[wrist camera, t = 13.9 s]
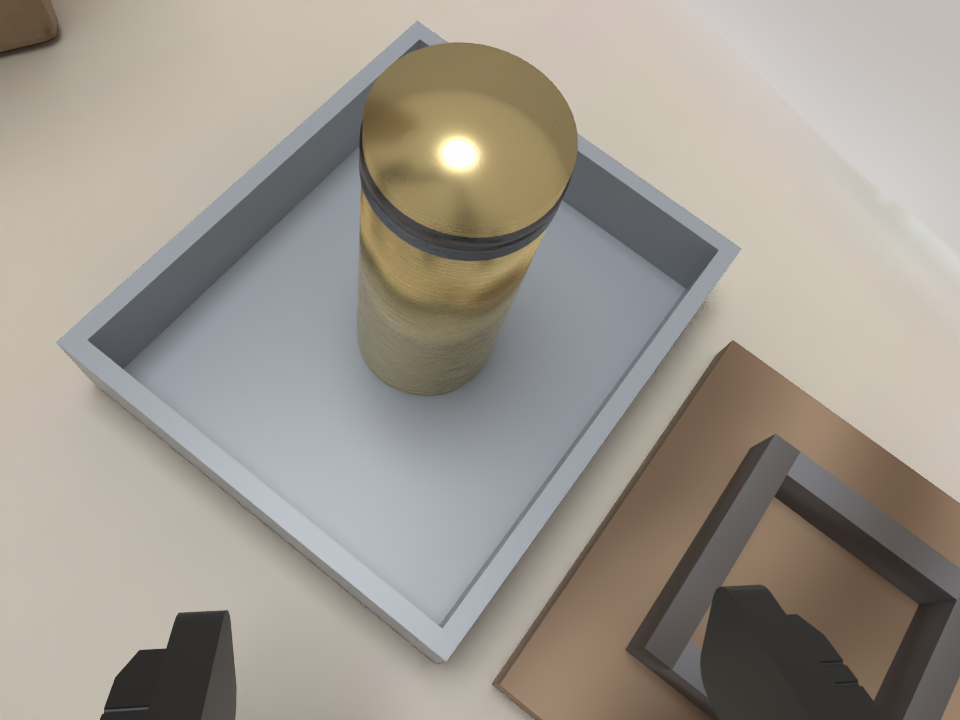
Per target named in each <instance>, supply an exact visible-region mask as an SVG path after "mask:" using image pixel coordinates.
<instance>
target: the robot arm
mask: <svg viewBox="0 0 960 720" xmlns="http://www.w3.org/2000/svg"><path fill="white" fill-rule="evenodd" d="M700 670H701V677H702V682H703V686H704V689H705V692H706V694H707V696H708V698H709V700H710V702H711V704H712V706H713V708H714V710H715V712H716V714H717V716H718V718H719V720H887V718H886V717H885V716H884V714H883V713H882V712H881V710H880V709H879V707H878V706H877V705H876V703H875V702H874V701H873V699H872V698H871V697H870V695H869V694H868V693H867V691H866V690H865V689H864V687H863V686H859V683H858V679H857V678H856V677H855V675H854V674H853V673H852V671H851V670H850V669H849V667H848V666H847V665H844V664H843V659H842V658H841V656H840V655H839V654H838V652H837V651H836V650H835V648H834V647H833V646H832V644H831V643H830V642H829V640H828V639H827V638H826V636H825V635H824V634H822V633H821V632H820V631H819V630H817V629H816V628H815V627H813V626H812V625H811V624H809V623H808V622H807V621H806V620H804V619H803V618H802V617H800V616H799V615H798V614H788V615H786V613H785V612H784V610H783V609H782V608H781V606H780V605H779V603H778V602H777V600H776V599H775V598H774V596H773V595H772V593H771V592H770V591H769V590H768V588H766V587H765V586H763V585H742V586H723V587H718V588H717V589H716V591H715V593H714V595H713V599H712V604H711V609H710V613H709V618H708V623H707V627H706V632H705V637H704V641H703V646H702V651H701V657H700ZM235 714H236V677H235V666H234V655H233V643H232V632H231V621H230V615H229V612H228V611H227V610H224V611H205V612H185V613H178V615H177V616H176V619H175V622H174V625H173V628H172V632H171V635H170V638H169V642H168V645H167V648H166V649H151V650H139V651H138V652H137V654H136V655H135V656H134V657H133V658H132V659H131V660H130V662H129V663H128V664H127V665H126V666H125V667H124V668H123V669H122V671H121V672H120V673H119V674H118V675H117V676H116V677H115V680H114V683H113V685H112V688H111V691H110V694H109V696H108V699H107V702H106V705H105V707H104V714H102V716H101V718H100V720H235Z"/></svg>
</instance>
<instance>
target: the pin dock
mask: <svg viewBox="0 0 960 720" xmlns="http://www.w3.org/2000/svg"><path fill="white" fill-rule="evenodd" d="M742 585H763V586H765V587H766V588H768V590H769V591H770V592H771V593H772V595H773V596H774V598H775V599H776V600H777V602H778V603H779V605H780V606H781V608H782V609H783V610H784V612H785V613H786V615H788V614H798V615H799V616H800V617H802V618H803V619H804V620H806V621H807V622H808V623H809V624H811V625H812V626H813V627H815V628H816V629H817V630H819V631H820V632H821V633H822V634H824V635H825V636H826V638H827V639H828V640H829V642H830V643H831V644H832V646H833V647H834V648H835V650H836V651H837V652H838V654H839V655H840V656H841V658H842V659H843V664H844V665H847V666H848V667H849V669H850V670H851V671H852V673H853V674H854V675H855V677H856V678H857V679H858V683H859V686H863V687H864V689H865V690H866V691H867V693H868V694H869V695H870V697H871V698H872V699H873V701H874V702H875V703H876V705H877V706H878V707H879V709H880V710H881V712H882V713H883V714H884V716H885V717H886V718H887V720H960V503H959V502H957V501H956V500H954V499H953V498H952V497H950V496H949V495H947V494H946V493H945V492H943V491H942V490H940V489H939V488H938V487H936V486H935V485H934V484H932V483H931V482H929V481H928V480H927V479H925V478H924V477H922V476H921V475H920V474H918V473H917V472H915V471H914V470H913V469H911V468H910V467H909V466H907V465H906V464H904V463H903V462H902V461H900V460H899V459H897V458H896V457H895V456H893V455H892V454H890V453H889V452H888V451H886V450H885V449H883V448H882V447H881V446H879V445H878V444H877V443H875V442H874V441H872V440H871V439H870V438H868V437H867V436H865V435H864V434H863V433H861V432H860V431H858V430H857V429H856V428H854V427H853V426H852V425H850V424H849V423H847V422H846V421H845V420H843V419H842V418H840V417H839V416H838V415H836V414H835V413H833V412H832V411H831V410H829V409H828V408H827V407H825V406H824V405H822V404H821V403H820V402H818V401H817V400H815V399H814V398H813V397H811V396H810V395H808V394H807V393H806V392H804V391H803V390H802V389H800V388H799V387H797V386H796V385H795V384H793V383H792V382H790V381H789V380H788V379H786V378H785V377H783V376H782V375H781V374H779V373H778V372H777V371H775V370H774V369H772V368H771V367H770V366H768V365H767V364H765V363H764V362H763V361H761V360H760V359H758V358H757V357H756V356H754V355H753V354H752V353H750V352H749V351H747V350H746V349H745V348H743V347H742V346H740V345H739V344H738V343H736V342H735V341H733V340H732V341H731V342H730V343H729V344H728V345H727V346H726V347H725V348H724V349H722V350H721V351H720V352H719V353H718V354H717V355H716V356H715V358H714V359H713V361H712V362H711V364H710V365H709V366H708V368H707V369H706V371H705V372H704V374H703V375H702V377H701V378H700V380H699V381H698V383H697V384H696V386H695V387H694V388H693V390H692V391H691V393H690V394H689V396H688V397H687V399H686V400H685V402H684V403H683V405H682V406H681V408H680V409H679V410H678V412H677V413H676V415H675V416H674V418H673V419H672V421H671V422H670V424H669V425H668V427H667V428H666V430H665V431H664V432H663V434H662V435H661V437H660V438H659V440H658V441H657V443H656V444H655V446H654V447H653V449H652V450H651V452H650V453H649V454H648V456H647V457H646V459H645V460H644V462H643V463H642V465H641V466H640V468H639V469H638V471H637V472H636V474H635V475H634V477H633V478H632V479H631V481H630V482H629V484H628V485H627V487H626V488H625V490H624V491H623V493H622V494H621V496H620V497H619V499H618V500H617V501H616V503H615V504H614V506H613V507H612V509H611V510H610V512H609V513H608V515H607V516H606V518H605V519H604V521H603V522H602V523H601V525H600V526H599V528H598V529H597V531H596V532H595V534H594V535H593V537H592V538H591V540H590V541H589V543H588V544H587V545H586V547H585V548H584V550H583V551H582V553H581V554H580V556H579V557H578V559H577V560H576V562H575V563H574V565H573V566H572V567H571V569H570V570H569V572H568V573H567V575H566V576H565V578H564V579H563V581H562V582H561V584H560V585H559V587H558V588H557V589H556V591H555V592H554V594H553V595H552V597H551V598H550V600H549V601H548V603H547V604H546V606H545V607H544V609H543V610H542V611H541V613H540V614H539V616H538V617H537V619H536V620H535V622H534V623H533V625H532V626H531V628H530V629H529V631H528V632H527V633H526V635H525V636H524V638H523V639H522V641H521V642H520V644H519V645H518V647H517V648H516V650H515V651H514V653H513V654H512V655H511V657H510V658H509V660H508V661H507V663H506V664H505V666H504V667H503V669H502V670H501V672H500V673H499V675H498V676H497V677H496V679H495V680H494V682H493V683H492V684H493V685H494V686H495V687H496V688H498V689H499V690H500V691H501V692H503V693H504V694H505V695H506V696H507V697H509V698H510V699H511V700H512V701H514V702H515V703H516V704H517V705H518V706H520V707H521V708H522V709H523V710H525V711H526V712H527V713H528V714H529V715H531V716H532V717H533V718H534V719H536V720H719V718H718V716H717V714H716V712H715V710H714V708H713V706H712V704H711V702H710V700H709V698H708V696H707V694H706V692H705V689H704V686H703V682H702V677H701V670H700V657H701V651H702V646H703V641H704V637H705V632H706V627H707V623H708V618H709V613H710V609H711V604H712V599H713V595H714V593H715V591H716V589H717V588H718V587H723V586H742Z"/></svg>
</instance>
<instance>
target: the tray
mask: <svg viewBox="0 0 960 720" xmlns="http://www.w3.org/2000/svg"><path fill="white" fill-rule="evenodd" d="M443 43H448V42H447V41H445V40H444V39H442V38H441V37H439V36H438V35H437V34H435V33H434V32H432V31H431V30H430V29H428V28H427V27H425V26H424V25H422V24H421V23H420V22H418V21H416V22H415V23H414V24H413V25H412V26H411V27H410V28H409V29H407V30H406V31H405V32H404V33H403V34H402V35H401V36H400V37H398V38H397V39H396V40H395V41H394V42H393V43H392V44H391V45H389V46H388V47H387V48H386V49H385V50H384V51H383V52H382V53H380V54H379V55H378V56H377V57H376V58H375V59H374V60H373V61H371V62H370V63H369V64H368V65H367V66H366V67H365V68H364V69H363V70H361V71H360V72H359V73H358V74H357V75H356V76H355V77H354V78H352V79H351V80H350V81H349V82H348V83H347V84H346V85H345V86H343V87H342V88H341V89H340V90H339V91H338V92H337V93H336V94H334V95H333V96H332V97H331V98H330V99H329V100H328V101H327V102H325V103H324V104H323V105H322V106H321V107H320V108H319V109H318V110H316V111H315V112H314V113H313V114H312V115H311V116H310V117H309V118H307V119H306V120H305V121H304V122H303V123H302V124H301V125H300V126H298V127H297V128H296V129H295V130H294V131H293V132H292V133H291V134H289V135H288V136H287V137H286V138H285V139H284V140H283V141H282V142H280V143H279V144H278V145H277V146H276V147H275V148H274V149H273V150H271V151H270V152H269V153H268V154H267V155H266V156H265V157H264V158H262V159H261V160H260V161H259V162H258V163H257V164H256V165H255V166H254V167H252V168H251V169H250V170H249V171H248V172H247V173H246V174H245V175H243V176H242V177H241V178H240V179H239V180H238V181H237V182H236V183H234V184H233V185H232V186H231V187H230V188H229V189H228V190H227V191H225V192H224V193H223V194H222V195H221V196H220V197H219V198H218V199H216V200H215V201H214V202H213V203H212V204H211V205H210V206H209V207H207V208H206V209H205V210H204V211H203V212H202V213H201V214H200V215H198V216H197V217H196V218H195V219H194V220H193V221H192V222H191V223H189V224H188V225H187V226H186V227H185V228H184V229H183V230H182V231H180V232H179V233H178V234H177V235H176V236H175V237H174V238H173V239H171V240H170V241H169V242H168V243H167V244H166V245H165V246H164V247H162V248H161V249H160V250H159V251H158V252H157V253H156V254H155V255H153V256H152V257H151V258H150V259H149V260H148V261H147V262H146V263H145V264H143V265H142V266H141V267H140V268H139V269H138V270H137V271H136V272H134V273H133V274H132V275H131V276H130V277H129V278H128V279H127V280H125V281H124V282H123V283H122V284H121V285H120V286H119V287H118V288H116V289H115V290H114V291H113V292H112V293H111V294H110V295H109V296H107V297H106V298H105V299H104V300H103V301H102V302H101V303H100V304H98V305H97V306H96V307H95V308H94V309H93V310H92V311H91V312H89V313H88V314H87V315H86V316H85V317H84V318H83V319H82V320H80V321H79V322H78V323H77V324H76V325H75V326H74V327H73V328H71V329H70V330H69V331H68V332H67V333H66V334H65V335H64V336H62V337H61V338H60V339H59V340H58V341H57V342H56V343H57V344H58V345H59V346H60V347H61V348H62V349H63V350H64V352H65V353H66V354H67V355H68V356H69V357H70V358H71V359H72V360H73V361H74V362H75V364H76V365H77V366H78V367H79V368H80V369H81V370H82V371H83V372H84V373H85V374H86V375H87V377H88V378H89V379H90V380H91V381H92V382H93V383H94V384H95V385H96V386H97V387H99V388H100V389H101V390H102V391H104V392H105V393H106V394H107V395H108V396H110V397H111V398H112V399H113V400H115V401H116V402H117V403H118V404H119V405H121V406H122V407H123V408H124V409H125V410H127V411H128V412H129V413H130V414H132V415H133V416H134V417H135V418H136V419H138V420H139V421H140V422H141V423H143V424H144V425H145V426H146V427H147V428H149V429H150V430H151V431H152V432H154V433H155V434H156V435H157V436H158V437H160V438H161V439H162V440H163V441H165V442H166V443H167V444H168V445H169V446H171V447H172V448H173V449H174V450H175V451H177V452H178V453H179V454H180V455H182V456H183V457H184V458H185V459H186V460H188V461H189V462H190V463H191V464H193V465H194V466H195V467H196V468H197V469H199V470H200V471H201V472H202V473H204V474H205V475H206V476H207V477H208V478H210V479H211V480H212V481H213V482H214V483H216V484H217V485H218V486H219V487H221V488H222V489H223V490H224V491H225V492H227V493H228V494H229V495H230V496H232V497H233V498H234V499H235V500H236V501H238V502H239V503H240V504H241V505H243V506H244V507H245V508H246V509H247V510H249V511H250V512H251V513H252V514H253V515H255V516H256V517H257V518H258V519H260V520H261V521H262V522H263V523H264V524H266V525H267V526H268V527H269V528H271V529H272V530H273V531H274V532H275V533H277V534H278V535H279V536H280V537H282V538H283V539H284V540H285V541H286V542H288V543H289V544H290V545H291V546H293V547H294V548H295V549H296V550H297V551H299V552H300V553H301V554H302V555H303V556H305V557H306V558H307V559H308V560H310V561H311V562H312V563H313V564H314V565H316V566H317V567H318V568H319V569H321V570H322V571H323V572H324V573H325V574H327V575H328V576H329V577H330V578H332V579H333V580H334V581H335V582H336V583H338V584H339V585H340V586H341V587H342V588H344V589H345V590H346V591H347V592H349V593H350V594H351V595H352V596H353V597H355V598H356V599H357V600H358V601H360V602H361V603H362V604H363V605H364V606H366V607H367V608H368V609H369V610H371V611H372V612H373V613H374V614H375V615H377V616H378V617H379V618H380V619H381V620H383V621H384V622H385V623H386V624H388V625H389V626H390V627H391V628H392V629H394V630H395V631H396V632H397V633H399V634H400V635H401V636H402V637H403V638H405V639H406V640H407V641H408V642H410V643H411V644H412V645H413V646H414V647H416V648H417V649H418V650H419V651H420V652H422V653H423V654H424V655H425V656H427V657H428V658H429V659H430V660H431V661H433V662H434V663H440V662H446V661H447V660H448V659H449V657H450V656H451V654H452V653H453V652H454V650H455V649H456V647H457V646H458V645H459V643H460V642H461V640H462V639H463V638H464V636H465V635H466V633H467V632H468V631H469V629H470V628H471V626H472V625H473V624H474V622H475V621H476V619H477V618H478V617H479V615H480V614H481V612H482V611H483V610H484V608H485V607H486V605H487V604H488V603H489V601H490V600H491V598H492V597H493V596H494V594H495V593H496V591H497V590H498V589H499V587H500V586H501V584H502V583H503V582H504V580H505V579H506V578H507V576H508V575H509V573H510V572H511V571H512V569H513V568H514V566H515V565H516V564H517V562H518V561H519V559H520V558H521V557H522V555H523V554H524V552H525V551H526V550H527V548H528V547H529V545H530V544H531V543H532V541H533V540H534V538H535V537H536V536H537V534H538V533H539V531H540V530H541V529H542V527H543V526H544V524H545V523H546V522H547V520H548V519H549V517H550V516H551V515H552V513H553V512H554V510H555V509H556V508H557V506H558V505H559V503H560V502H561V501H562V499H563V498H564V496H565V495H566V494H567V492H568V491H569V489H570V488H571V487H572V485H573V484H574V482H575V481H576V480H577V478H578V477H579V475H580V474H581V473H582V471H583V470H584V468H585V467H586V466H587V464H588V463H589V461H590V460H591V459H592V457H593V456H594V454H595V453H596V452H597V450H598V449H599V447H600V446H601V445H602V443H603V442H604V440H605V439H606V438H607V436H608V435H609V433H610V432H611V431H612V429H613V428H614V426H615V425H616V424H617V422H618V421H619V419H620V418H621V417H622V415H623V414H624V412H625V411H626V410H627V408H628V407H629V405H630V404H631V403H632V401H633V400H634V398H635V397H636V396H637V394H638V393H639V391H640V390H641V389H642V387H643V386H644V384H645V383H646V382H647V380H648V379H649V377H650V376H651V375H652V373H653V372H654V370H655V369H656V368H657V366H658V365H659V363H660V362H661V361H662V359H663V358H664V356H665V355H666V354H667V352H668V351H669V350H670V348H671V347H672V345H673V344H674V343H675V341H676V340H677V338H678V337H679V336H680V334H681V333H682V331H683V330H684V329H685V327H686V326H687V324H688V323H689V322H690V320H691V319H692V317H693V316H694V315H695V313H696V312H697V310H698V309H699V308H700V306H701V305H702V303H703V302H704V301H705V299H706V298H707V296H708V295H709V294H710V292H711V291H712V289H713V288H714V287H715V285H716V284H717V282H718V281H719V280H720V278H721V277H722V275H723V274H724V273H725V271H726V270H727V268H728V267H729V266H730V264H731V263H732V261H733V260H734V259H735V257H736V256H737V254H738V253H739V252H740V250H741V248H740V247H738V246H737V245H736V244H734V243H733V242H731V241H730V240H728V239H727V238H726V237H724V236H723V235H721V234H720V233H718V232H717V231H716V230H714V229H713V228H711V227H710V226H708V225H707V224H706V223H704V222H703V221H701V220H700V219H699V218H697V217H696V216H694V215H693V214H691V213H690V212H689V211H687V210H686V209H684V208H683V207H681V206H680V205H679V204H677V203H676V202H674V201H673V200H671V199H670V198H669V197H667V196H666V195H664V194H663V193H662V192H660V191H659V190H657V189H656V188H654V187H653V186H652V185H650V184H649V183H647V182H646V181H644V180H643V179H642V178H640V177H639V176H637V175H636V174H634V173H633V172H632V171H630V170H629V169H627V168H626V167H625V166H623V165H622V164H620V163H619V162H617V161H616V160H615V159H613V158H612V157H610V156H609V155H607V154H606V153H605V152H603V151H602V150H600V149H599V148H597V147H596V146H595V145H593V144H592V143H590V142H589V141H588V140H586V139H585V138H583V137H582V136H580V135H579V134H578V133H577V135H578V151H577V157H576V162H575V165H574V168H573V171H572V177H571V180H570V183H569V186H568V189H567V191H566V193H565V195H564V197H563V199H562V202H561V204H560V206H559V208H558V210H557V212H556V214H555V216H554V218H553V220H552V221H551V223H550V224H549V226H548V227H547V229H546V231H545V233H544V235H543V238H542V240H541V242H540V244H539V246H538V249H537V251H536V253H535V255H534V257H533V260H532V262H531V264H530V266H529V269H528V271H527V273H526V275H525V277H524V280H523V282H522V284H521V286H520V288H519V291H518V293H517V295H516V297H515V300H514V302H513V304H512V306H511V308H510V311H509V313H508V315H507V317H506V319H505V322H504V324H503V326H502V328H501V331H500V333H499V335H498V337H497V339H496V342H495V344H494V346H493V348H492V351H491V353H490V355H489V357H488V359H487V361H486V363H485V365H484V367H483V368H482V370H481V371H480V372H479V373H478V374H477V376H476V377H475V378H474V379H472V380H471V381H470V382H469V383H468V384H466V385H464V386H463V387H461V388H459V389H457V390H455V391H452V392H449V393H446V394H442V395H436V396H420V395H413V394H409V393H405V392H402V391H399V390H397V389H395V388H393V387H391V386H389V385H388V384H386V383H385V382H383V381H382V380H381V379H380V378H379V377H377V376H376V375H375V374H374V372H373V371H372V370H371V369H370V368H369V366H368V365H367V363H366V362H365V360H364V358H363V356H362V354H361V351H360V348H359V345H358V340H357V302H358V267H359V232H360V197H361V180H360V175H359V137H360V128H361V123H362V120H363V113H364V107H365V103H366V100H367V97H368V95H369V92H370V90H371V88H372V86H373V85H374V83H375V82H376V80H377V79H378V77H379V76H380V75H381V74H382V73H383V72H384V71H385V70H386V69H387V68H388V67H389V66H390V65H392V64H393V63H394V62H395V61H397V60H398V59H400V58H402V57H403V56H405V55H407V54H409V53H411V52H413V51H416V50H418V49H421V48H424V47H428V46H431V45H437V44H443Z"/></svg>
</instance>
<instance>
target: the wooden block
mask: <svg viewBox="0 0 960 720" xmlns="http://www.w3.org/2000/svg"><path fill="white" fill-rule="evenodd" d="M56 32H57V18H56V15H55V13H54V10H53V8H52V5H51V2H50V0H0V52H3V51H7V50H11V49H15V48H19V47H24V46H28V45H32V44H36V43H41V42H45V41H49V40H50V39H52V38H53V37H55V36H56Z"/></svg>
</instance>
